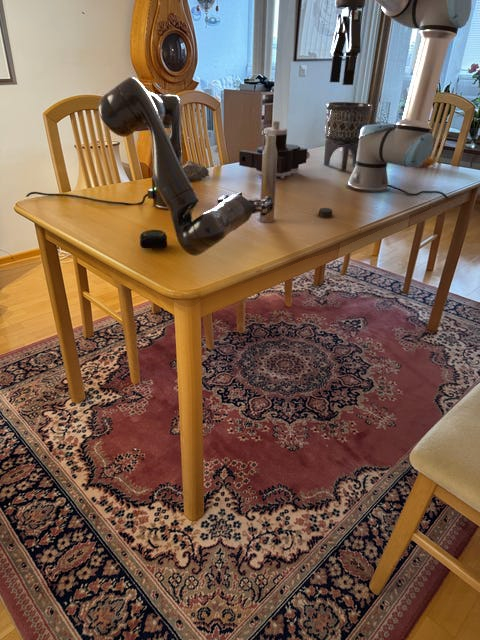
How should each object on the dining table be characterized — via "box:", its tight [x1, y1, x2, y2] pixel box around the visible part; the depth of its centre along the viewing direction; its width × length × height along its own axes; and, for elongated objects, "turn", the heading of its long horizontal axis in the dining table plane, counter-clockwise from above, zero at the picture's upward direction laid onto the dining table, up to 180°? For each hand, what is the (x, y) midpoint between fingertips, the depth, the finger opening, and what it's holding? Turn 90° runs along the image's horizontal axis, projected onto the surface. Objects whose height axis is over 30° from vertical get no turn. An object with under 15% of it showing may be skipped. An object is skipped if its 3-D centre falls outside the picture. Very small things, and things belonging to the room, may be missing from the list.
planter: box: [323, 101, 374, 172], centre depth 204 cm, size 20×20×26 cm
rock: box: [182, 160, 210, 182], centre depth 182 cm, size 13×9×6 cm, turn 131°
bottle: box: [259, 135, 277, 223], centre depth 134 cm, size 4×4×25 cm
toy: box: [418, 156, 435, 169], centre depth 214 cm, size 11×6×15 cm
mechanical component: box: [238, 120, 311, 179], centre depth 191 cm, size 22×21×30 cm
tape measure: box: [139, 229, 168, 250], centre depth 117 cm, size 7×7×4 cm
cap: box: [318, 207, 333, 219], centre depth 144 cm, size 4×4×2 cm
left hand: (254, 197), depth 127 cm, fingers open, 8 cm apart
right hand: (340, 83), depth 126 cm, fingers open, 13 cm apart
